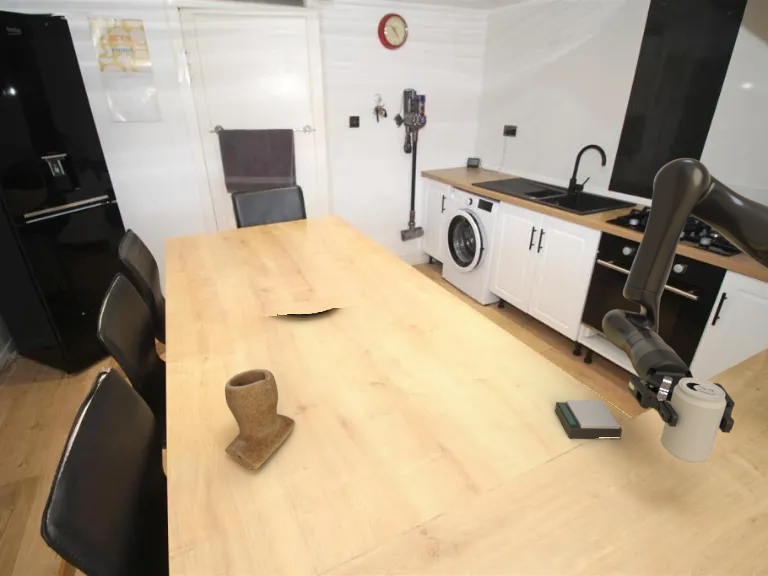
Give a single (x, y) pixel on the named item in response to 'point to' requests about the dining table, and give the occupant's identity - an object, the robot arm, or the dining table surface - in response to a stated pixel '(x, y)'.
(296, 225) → the dining table surface
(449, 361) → the dining table surface
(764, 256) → the robot arm
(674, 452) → the beverage can
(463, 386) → the dining table surface
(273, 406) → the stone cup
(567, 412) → the scale
